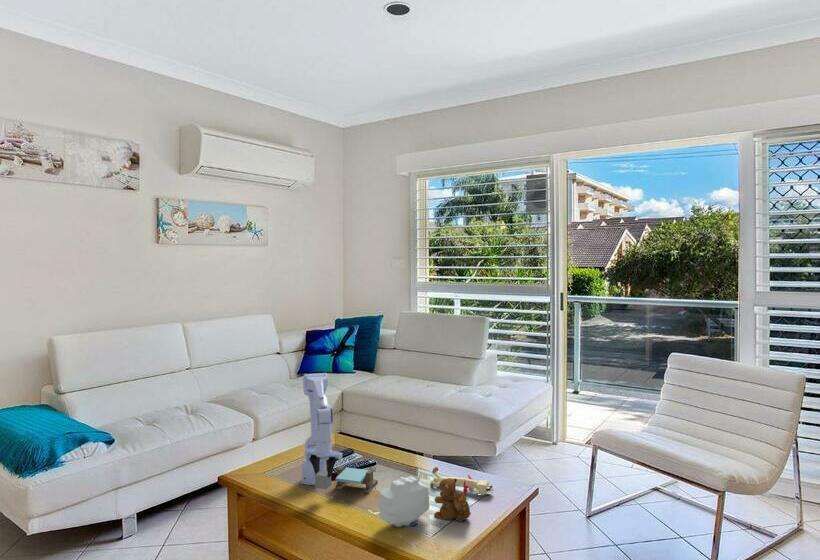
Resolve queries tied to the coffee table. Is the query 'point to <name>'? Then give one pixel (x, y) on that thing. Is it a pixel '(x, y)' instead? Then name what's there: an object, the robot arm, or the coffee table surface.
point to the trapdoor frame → (369, 480)
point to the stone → (322, 480)
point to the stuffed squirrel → (451, 502)
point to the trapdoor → (352, 476)
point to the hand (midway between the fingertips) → (323, 475)
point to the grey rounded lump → (404, 501)
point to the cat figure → (464, 483)
